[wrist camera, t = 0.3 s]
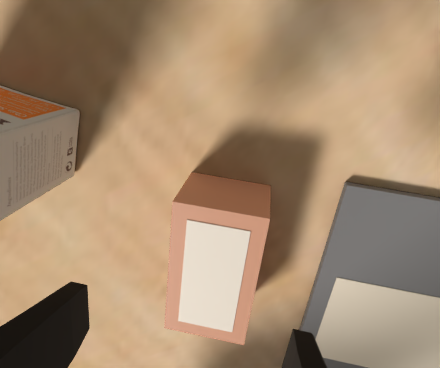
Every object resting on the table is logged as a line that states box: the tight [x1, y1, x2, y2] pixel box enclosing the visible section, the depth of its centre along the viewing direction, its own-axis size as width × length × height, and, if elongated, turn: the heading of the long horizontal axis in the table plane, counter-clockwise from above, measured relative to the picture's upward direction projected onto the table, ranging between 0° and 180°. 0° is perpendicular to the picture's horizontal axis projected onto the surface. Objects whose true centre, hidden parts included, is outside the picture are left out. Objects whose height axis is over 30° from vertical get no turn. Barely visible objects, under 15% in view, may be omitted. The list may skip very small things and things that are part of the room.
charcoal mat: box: [300, 182, 440, 368], centre depth 20 cm, size 18×12×1 cm, turn 173°
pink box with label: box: [164, 172, 271, 345], centre depth 18 cm, size 8×4×4 cm, turn 173°
